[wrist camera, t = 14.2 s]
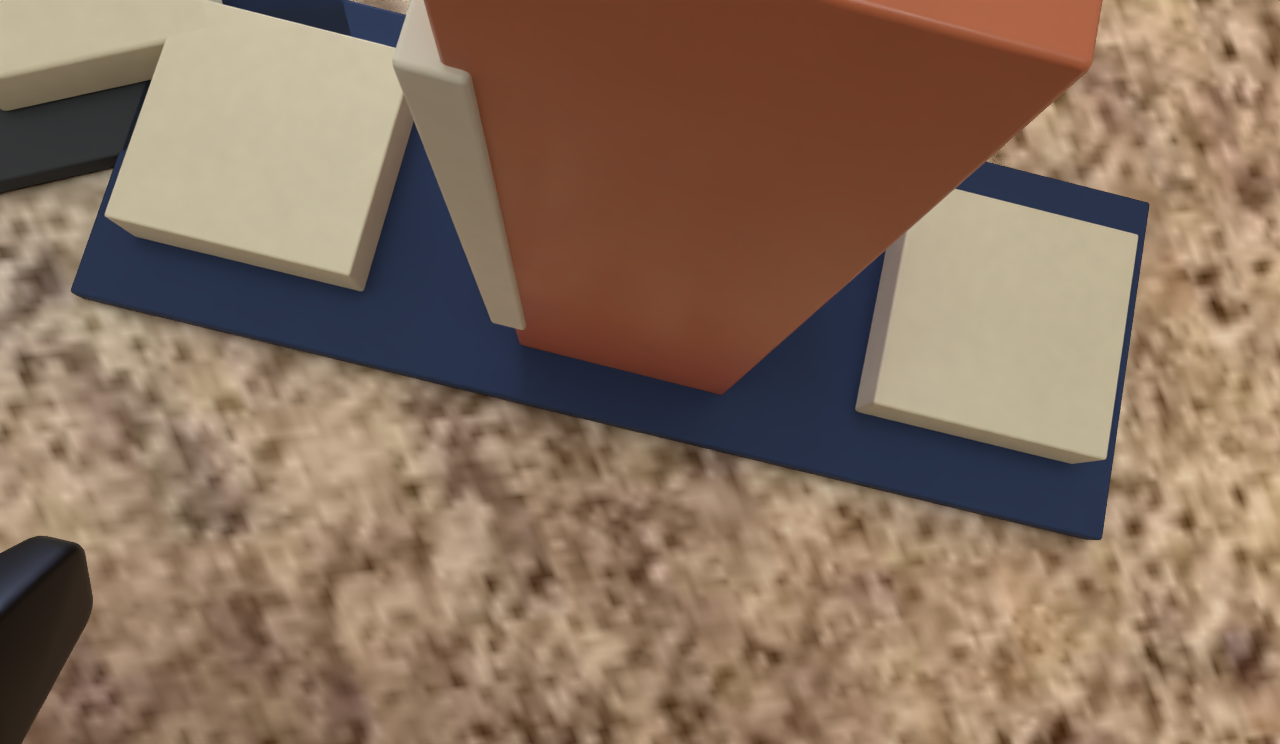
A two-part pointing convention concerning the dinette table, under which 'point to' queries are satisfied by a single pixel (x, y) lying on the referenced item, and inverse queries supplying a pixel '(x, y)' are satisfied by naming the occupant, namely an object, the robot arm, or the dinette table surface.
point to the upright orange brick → (710, 153)
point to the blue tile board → (503, 368)
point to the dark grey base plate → (86, 77)
